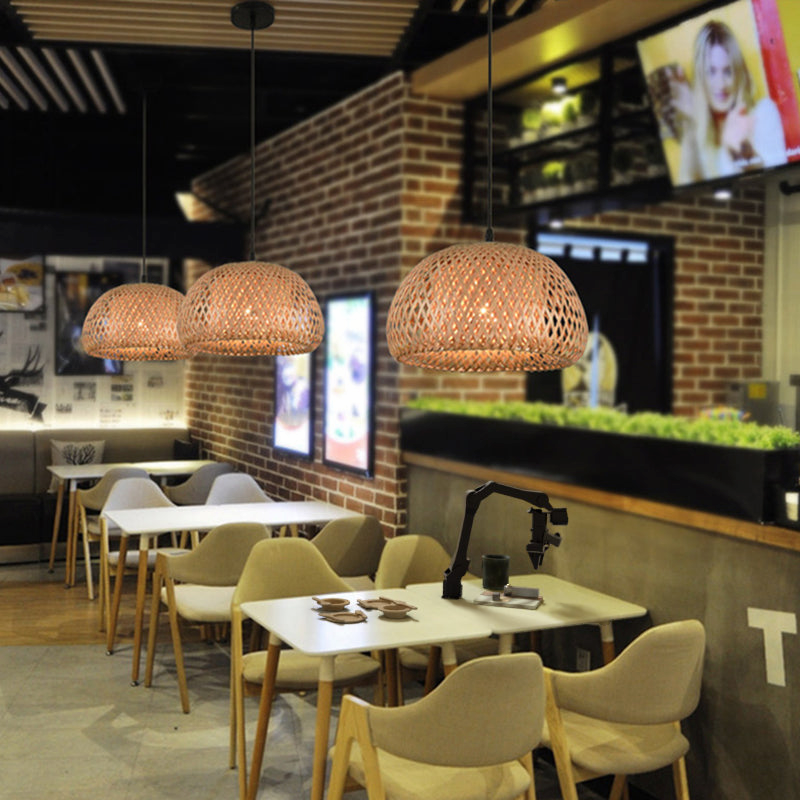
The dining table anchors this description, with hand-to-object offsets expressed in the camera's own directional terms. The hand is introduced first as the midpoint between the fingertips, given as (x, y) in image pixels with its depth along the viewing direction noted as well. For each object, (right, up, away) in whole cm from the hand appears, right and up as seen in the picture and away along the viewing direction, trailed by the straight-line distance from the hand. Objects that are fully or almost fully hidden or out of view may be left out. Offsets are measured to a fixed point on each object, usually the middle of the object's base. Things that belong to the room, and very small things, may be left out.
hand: (538, 567), depth 380 cm
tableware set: (-64, -11, -31) cm, 71 cm away
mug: (-15, -11, +19) cm, 27 cm away
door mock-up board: (-11, -11, -7) cm, 17 cm away
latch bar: (-7, -10, -4) cm, 12 cm away
